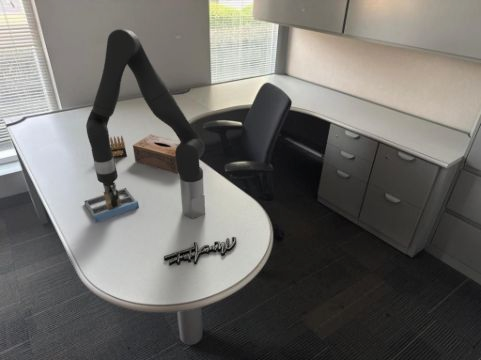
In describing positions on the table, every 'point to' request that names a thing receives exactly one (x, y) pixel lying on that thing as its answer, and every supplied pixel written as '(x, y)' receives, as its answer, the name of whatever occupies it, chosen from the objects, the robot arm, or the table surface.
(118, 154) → the ammunition clip
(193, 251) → the nameplate
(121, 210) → the organizer
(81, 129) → the table surface
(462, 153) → the table surface
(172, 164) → the tissue box cover
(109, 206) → the plug block
